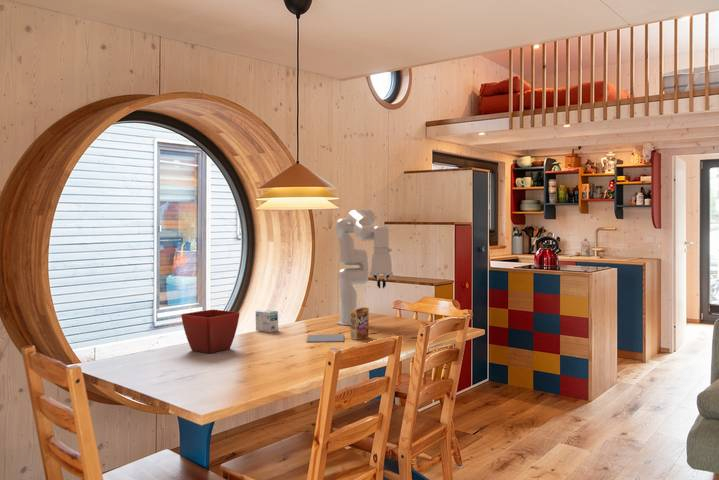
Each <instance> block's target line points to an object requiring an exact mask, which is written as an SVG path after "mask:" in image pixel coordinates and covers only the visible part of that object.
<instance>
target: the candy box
mask: <svg viewBox="0 0 719 480" xmlns="http://www.w3.org/2000/svg"><path fill="white" fill-rule="evenodd" d="M369 310H370V309H369V307H367V306H362V307H361V306H360V307H357V308H352V309H351V325H350V340H354V341H357V340H361V339H367V338H369V323H370V322H369V318H370V317H369V316H370V315H369V312H370V311H369Z"/></svg>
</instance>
